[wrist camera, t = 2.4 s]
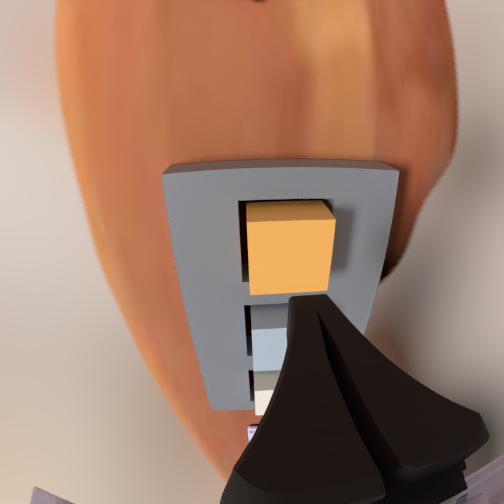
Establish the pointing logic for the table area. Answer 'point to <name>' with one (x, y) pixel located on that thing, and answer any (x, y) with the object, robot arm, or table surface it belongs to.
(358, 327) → the button board
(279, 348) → the slate-blue button
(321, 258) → the orange button
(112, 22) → the table surface
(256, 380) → the cream button
